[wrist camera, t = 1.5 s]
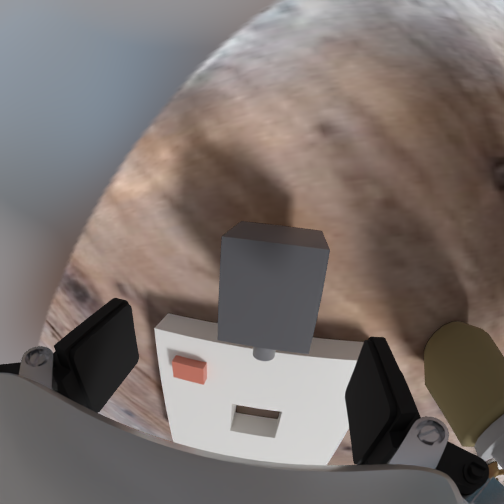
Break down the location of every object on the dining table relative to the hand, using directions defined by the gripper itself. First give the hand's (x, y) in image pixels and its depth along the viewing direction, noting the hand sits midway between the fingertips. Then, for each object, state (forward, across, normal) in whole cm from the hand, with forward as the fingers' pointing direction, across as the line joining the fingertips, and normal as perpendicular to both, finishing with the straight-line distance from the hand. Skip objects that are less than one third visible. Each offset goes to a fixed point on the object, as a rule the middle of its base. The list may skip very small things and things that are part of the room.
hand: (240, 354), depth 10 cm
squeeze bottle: (+13, -20, +7) cm, 25 cm away
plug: (+13, -1, +1) cm, 13 cm away
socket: (+13, -1, +17) cm, 22 cm away
